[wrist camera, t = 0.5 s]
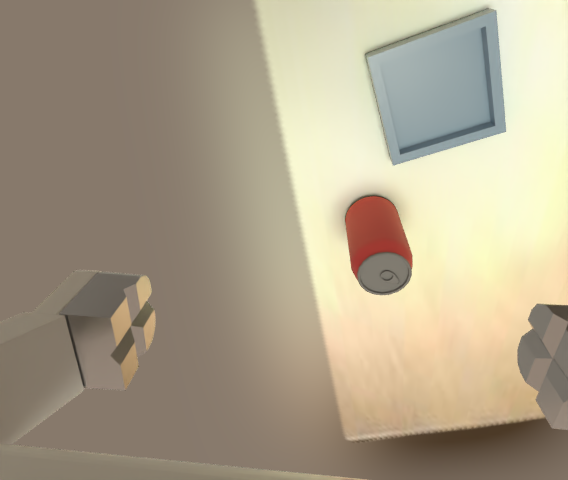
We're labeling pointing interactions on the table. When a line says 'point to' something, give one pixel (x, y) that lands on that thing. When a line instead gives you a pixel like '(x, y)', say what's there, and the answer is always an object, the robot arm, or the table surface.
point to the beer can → (378, 246)
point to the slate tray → (440, 87)
